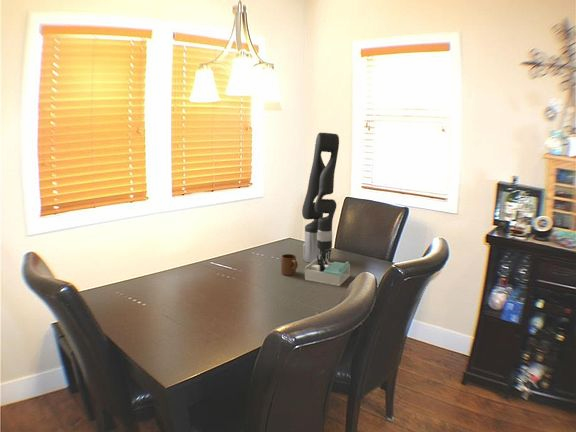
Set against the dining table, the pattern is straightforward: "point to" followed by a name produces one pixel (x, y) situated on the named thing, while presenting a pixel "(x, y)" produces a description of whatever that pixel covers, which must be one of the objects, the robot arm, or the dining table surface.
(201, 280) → the dining table surface
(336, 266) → the teal lid
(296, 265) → the mug
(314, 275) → the grey housing
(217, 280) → the dining table surface
